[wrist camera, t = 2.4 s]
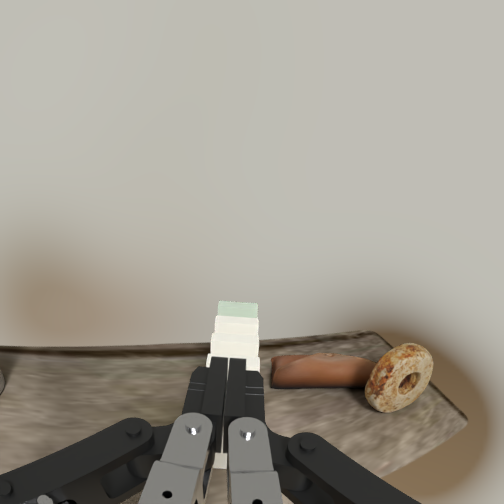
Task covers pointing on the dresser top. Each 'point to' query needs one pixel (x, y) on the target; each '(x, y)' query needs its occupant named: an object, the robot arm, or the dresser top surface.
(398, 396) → the stone disc
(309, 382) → the sunglasses case
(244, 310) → the domino
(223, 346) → the domino
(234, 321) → the domino
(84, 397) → the dresser top surface
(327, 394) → the dresser top surface
